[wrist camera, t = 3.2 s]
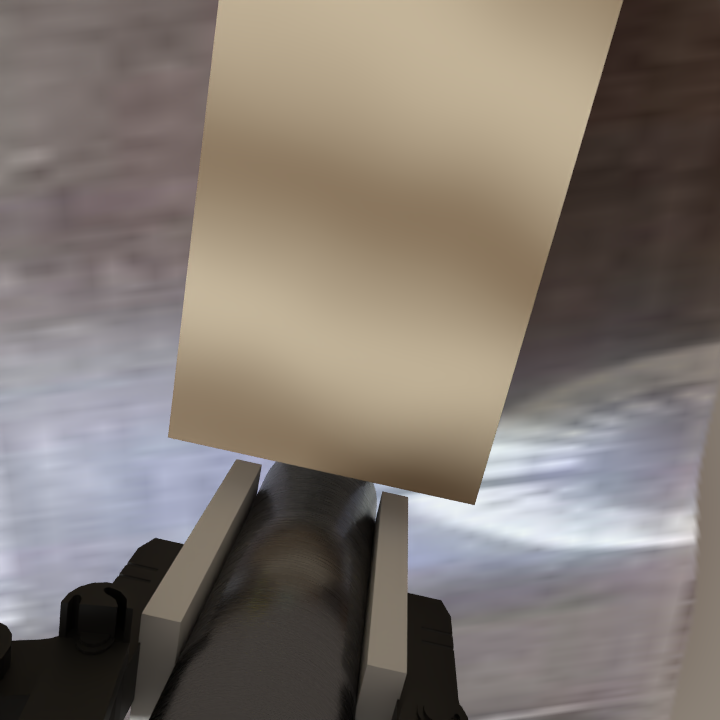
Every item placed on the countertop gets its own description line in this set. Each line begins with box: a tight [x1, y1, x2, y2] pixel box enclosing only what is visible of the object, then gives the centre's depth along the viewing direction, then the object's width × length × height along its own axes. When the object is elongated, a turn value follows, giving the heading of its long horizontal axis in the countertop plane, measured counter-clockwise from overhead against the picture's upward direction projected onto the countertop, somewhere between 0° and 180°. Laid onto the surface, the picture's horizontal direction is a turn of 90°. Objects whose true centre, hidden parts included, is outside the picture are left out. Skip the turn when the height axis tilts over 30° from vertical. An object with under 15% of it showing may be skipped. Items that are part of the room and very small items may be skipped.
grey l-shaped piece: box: [149, 462, 377, 720], centre depth 12 cm, size 24×4×13 cm, turn 168°
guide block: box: [168, 0, 623, 505], centre depth 19 cm, size 12×8×11 cm, turn 168°
